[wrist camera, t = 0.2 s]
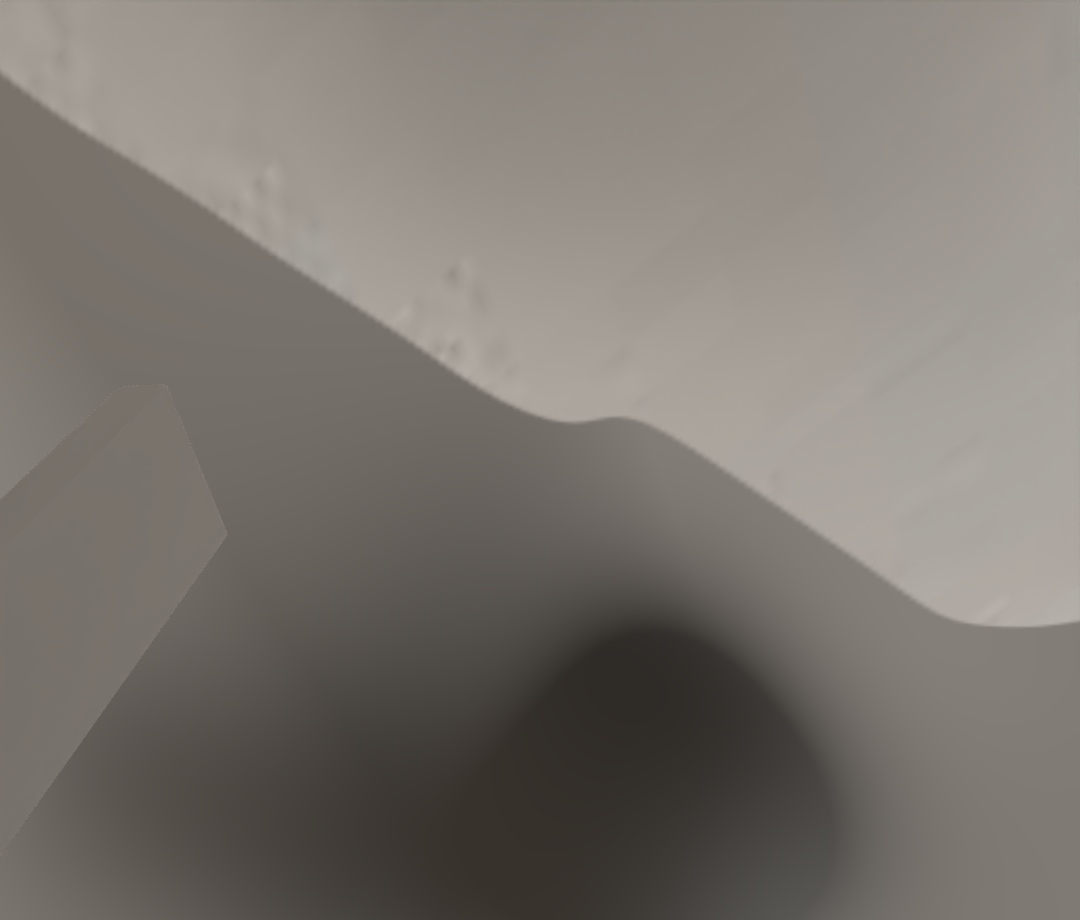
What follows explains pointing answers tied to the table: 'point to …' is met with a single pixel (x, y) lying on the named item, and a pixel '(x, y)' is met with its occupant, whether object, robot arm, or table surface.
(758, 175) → the table surface
